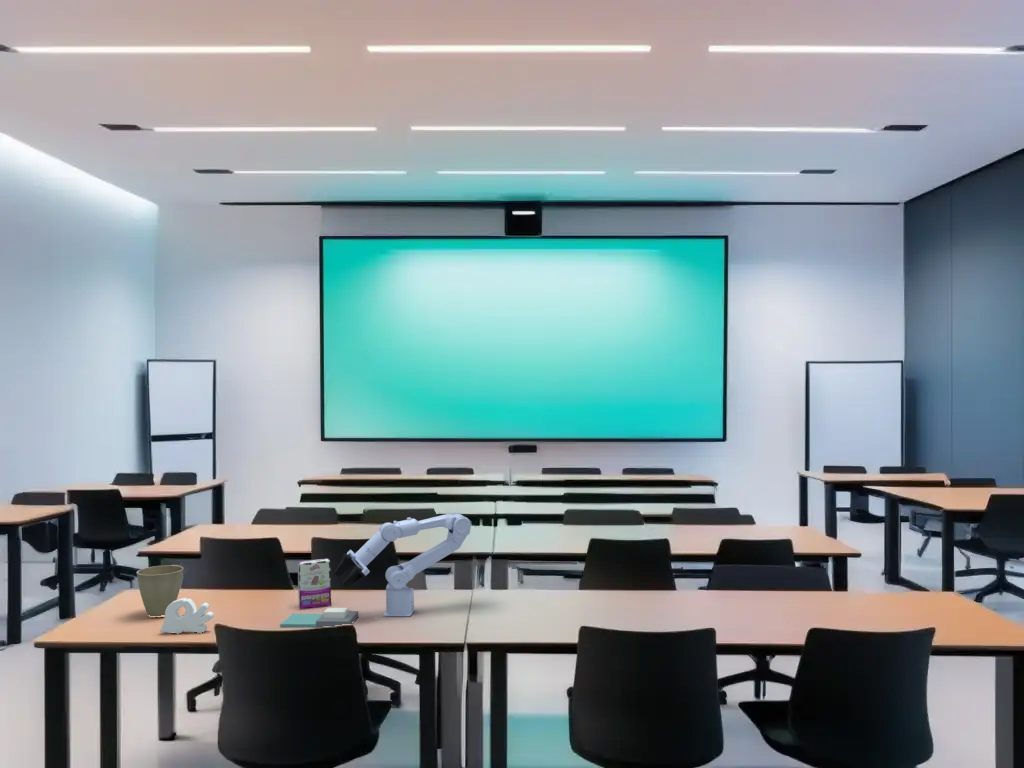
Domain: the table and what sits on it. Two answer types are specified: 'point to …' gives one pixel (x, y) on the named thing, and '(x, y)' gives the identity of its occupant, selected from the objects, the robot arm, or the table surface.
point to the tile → (335, 612)
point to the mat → (301, 620)
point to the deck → (337, 620)
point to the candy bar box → (314, 583)
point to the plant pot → (159, 587)
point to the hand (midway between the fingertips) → (340, 580)
